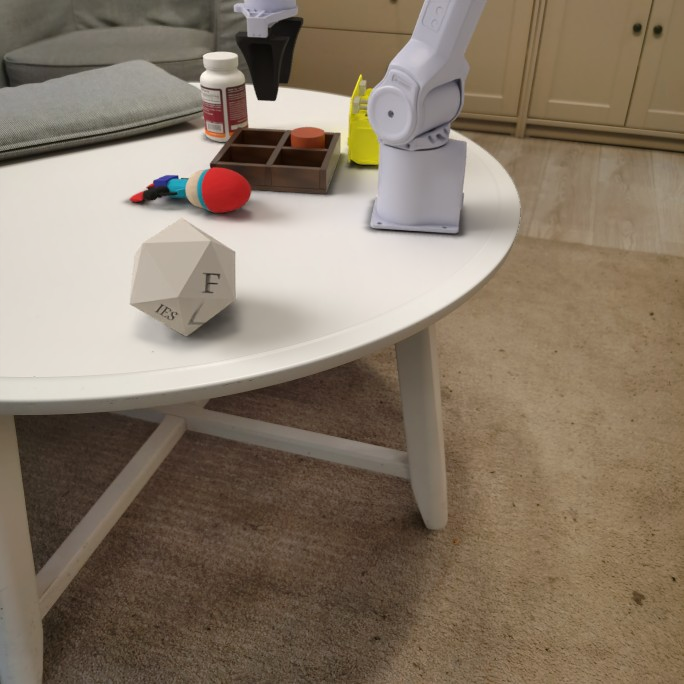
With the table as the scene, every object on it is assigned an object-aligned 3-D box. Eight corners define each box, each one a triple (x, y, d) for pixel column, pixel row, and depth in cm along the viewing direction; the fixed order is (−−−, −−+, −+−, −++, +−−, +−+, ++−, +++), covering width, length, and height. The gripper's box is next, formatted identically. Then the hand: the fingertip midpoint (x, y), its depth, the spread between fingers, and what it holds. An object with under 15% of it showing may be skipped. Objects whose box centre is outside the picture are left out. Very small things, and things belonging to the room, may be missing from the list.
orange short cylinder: (326, 151, 95) (327, 127, 93) (322, 163, 91) (322, 138, 89) (294, 149, 95) (293, 126, 93) (288, 161, 91) (287, 136, 90)
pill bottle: (246, 128, 105) (241, 49, 99) (251, 141, 100) (246, 59, 94) (203, 130, 104) (196, 50, 97) (206, 144, 99) (198, 61, 92)
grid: (340, 154, 96) (340, 132, 94) (326, 194, 85) (326, 170, 83) (239, 148, 97) (237, 127, 96) (211, 187, 86) (209, 163, 84)
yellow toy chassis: (356, 129, 105) (358, 71, 100) (395, 131, 105) (398, 72, 100) (344, 168, 92) (345, 102, 87) (388, 170, 91) (391, 104, 87)
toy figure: (128, 216, 82) (233, 222, 75) (118, 174, 80) (225, 176, 73) (171, 199, 88) (271, 203, 81) (162, 159, 86) (265, 159, 79)
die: (125, 354, 58) (176, 285, 51) (102, 264, 61) (147, 189, 55) (216, 352, 64) (271, 290, 57) (190, 270, 67) (240, 203, 61)
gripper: (247, -48, 82) (253, 74, 90) (213, -33, 70) (224, 106, 78) (307, -46, 82) (308, 76, 89) (284, -30, 70) (287, 109, 77)
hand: (273, 91), depth 84 cm, fingers open, 7 cm apart
